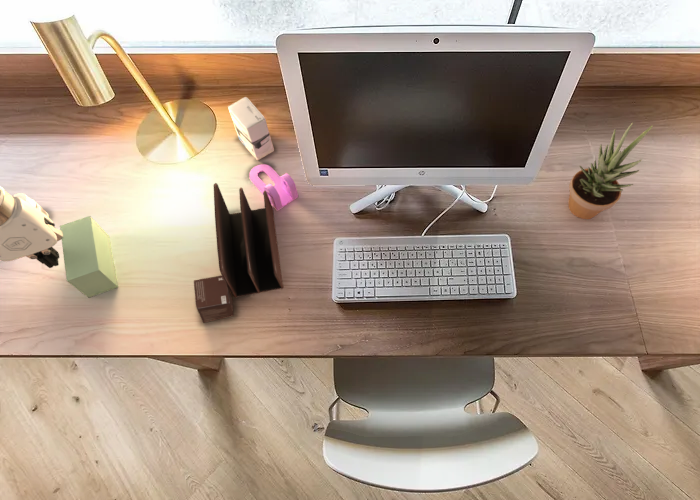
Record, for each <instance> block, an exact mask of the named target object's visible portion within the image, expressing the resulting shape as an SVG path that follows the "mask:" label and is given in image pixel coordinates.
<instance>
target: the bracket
mask: <svg viewBox="0 0 700 500" xmlns="http://www.w3.org/2000/svg"><path fill="white" fill-rule="evenodd" d="M260 173H265V175H266V176H268V178H270V180H271V181H272V182H273V183H274V185H273V184H272V183H268V184H266V183H265V182H264V181H263V180H262V179H261V178H260V177H259V174H260ZM248 175H249V176H248V177H249V180H250V182H251V183H252V184H253V185H254V186H255V188H256V189H257V190H259V192H260V193H261V194H262V196H264V194H263V192H264V191H266V192H267V195H268V197H269V200H270V202H271V205H272V207H273V208H274V209H275V211H277V212H278V211H280V210H281V209H283V208H284V207H286V206H287V205H289V204H290V203H292V202H293V201H295V200H296V199H298V198H299V194H298V190H297V185H296V183H295V181H294V179H293V178H292V177H291V175H290V174H289V173H287V172H285V173H284V174H282V175H281V176H280V175H279V173H277V171H276V170H274V168H273V167H272V166H271V165H269V164H266V163H261V164H257V165H255V166H253V167H252V168H251V169H250V171H249V173H248Z"/></svg>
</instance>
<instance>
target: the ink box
mask: <svg viewBox="0 0 700 500" xmlns="http://www.w3.org/2000/svg"><path fill="white" fill-rule="evenodd" d="M227 108H228V111H229V114H230V117H231V120H232V123H233V125H234V129H235V131H236V134H237V138H238V140H239V141H240V142H241V144H242V145H243V146H244V147H245V149H247V150H248V152H249V153H250V154H251V155H252V157H254V159H255V160H257V161H259V160H261V159H263V158H264V157H266V156H268V155H270V154H271V153H273V152H275V148H274V144H273V141H272V137H271V134H270V130H269V127H268V122H267V119H266V118H265V116H264V115H263V113H262V112H261V111H260V110H259V109H258V108H257V106H256V105H254V103H253V102H252V101H251V100H250V99H249V98H248V97H247V96H244V97H242V98H240V99H239V100H237V101H234V102H233V103H231V104H229V105H228V106H227Z"/></svg>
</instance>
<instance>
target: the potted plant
mask: <svg viewBox="0 0 700 500" xmlns="http://www.w3.org/2000/svg"><path fill="white" fill-rule="evenodd" d="M633 125H634V122H631V123H630V124H629V126H628V127H627V128H626V130H625V131H624V133H623V134H622V137H620V138H621V139H620V140H619V142H618V143H617V146H616V148H615V139H616V131H617V130H616V128H615V129H613V133H612V134H611V138H610V141H609V144H606V145H605V149H604V150H603V146H602V145H603V144H600V145H599V148H598V154H597V160H596V159H594V162H593V163H592V162H591V163H590V166H588V168H584V167H582V165H579V168H580V170H579V171H577V172H576V173H575V174H574V175H573V176H572V178H571V180H570V181H569V185H568V187H569V189H568V190H569V191H568V192H569V197H568V202H567V203H568V204H567V205H568V208H569V211H570V213H571V214H572V215H573V216H574V217H576V218H578V219H581V220H582V219H583V220H590V219H592V218H595V217H596V216H597V215H598V214H600V213H601V212H603V211H606V210H609V209H611V208H613V207H614V206H615V205H616V204H617V203H618V202H619V200H620V198H621V196H622V191H624V189H623V188H628V187H631V186H634V183H629V184H620V183H619V182H618V180H621V179H624V178H627V177H630V176H632V175H635V174H637V173H638V172H639V171H640V169H637V170H632V171H631V170H630V171H628V170H629V169H631V168H634V167H636V166H637V165H639V163H641V162H642V161H643V159H639V160H637V161H633V162H630V163H626V164H622V163H623V162H624V160H625V159H627V157H628V155H629V154H630V153H631V152H632V151H633V149H635V147H636V146H637V145H638V144H639V143H640V142H641V141H642V140H643V139H644V138H645V137H646V135H647V134H648V133H649V132H650V131H651V129H652V128H653V126H654V125H653V124H652V125H650V126H649V127H648V128H647V129H646V130H644V131H643V132H641V134H640V135H638V136H637V137H636V138H635V139H634V140H633V141H632V142H631V143H630V144H629V145H628V146H627V147H626V148H624V149H623V150H622V151H621V148H622V146H623V144H624V142H625V140H626V138H627V136H628V134H629V132H630V130H631V128H632V126H633ZM603 151H604V152H603Z"/></svg>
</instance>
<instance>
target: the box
mask: <svg viewBox="0 0 700 500" xmlns="http://www.w3.org/2000/svg"><path fill="white" fill-rule="evenodd" d="M193 291H194V299H195V308H196V310H197V312H198V314H199V317H200V319H201V321H202V323H204V324H205V323H209V322H214V321H217V320H221V319H226V318H229V317H230V318H231V317H234V314H235V313H234V305H233V304H234V303H233V295H232V293H231V291H230V289H229V287H228V285H227V284H226V282H225V280H224V279H223V277H222V275H221V274H220V275H217V276H211V277H205V278H200V279H199V278H198V279H194V280H193Z"/></svg>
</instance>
